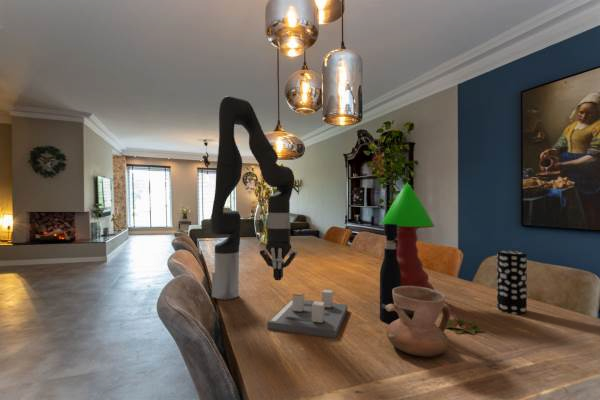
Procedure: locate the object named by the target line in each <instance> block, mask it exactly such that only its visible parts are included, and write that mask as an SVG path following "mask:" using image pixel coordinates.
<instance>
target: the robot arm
mask: <svg viewBox="0 0 600 400" xmlns="http://www.w3.org/2000/svg"><path fill="white" fill-rule="evenodd" d="M218 110H219V112H218V130H219V131H218V149H217V150H218V151H217V160H216V169H215V170H216V171H215V188H214V197H213V203H212V204H213V205H212V210H211V216H210V230H211V233H212V235H217V236H218V235H220V236H221V235H223V236H224V235H228V237H227V238H226V239H224V240H223V241H221V242H218V243H216V244H215V246H214V271H212V273H211V275H212V276H211V298H214V299H217V300H225V301H226V300H232V299H233V300H234V299H236V298H238V297H239V288H240V286H239V285H240V280H239V279H240V276H239V275H240V245H241V228H242V219H241V214H240V212H239V211H237V210H225V205H226V202H227V200H228V198H229V196H230V195H231V194H232V192H233V191H234V190H235V189H236V188H237V186H238V184H239V183H240V181H241V178H242V171H243V158H242V155H241V153H240V150H239V148H238V145H237V142H236V139H235V125H238V126H242V127H243V128H244V129H245V131H247V134H248V145H249V146H248V147H249V151H251V154H252V155H253V157H254V159H255V161H256V162H257V163H258V166H259V170H260V174H261V177H262V179H263V181H264V182H265V183H266V184H267V185H268V186H269V187H272V188H273V187H274V188H275V192H274V194H271V195H270V196H269V197H268V200H267V202H268V203H267V204H268V205H267V221H266V227H267V228H266V229H267V230H266V241H267V242H266V245H265V247H264V248H263V249H261V250H259V254H260V256H261V257H262V258H263V261H264V262H265V263H266V265H267V266H268V267H271V268H272V269H273V270H272V271H273V272H272V273H273V276H272V277H273V279H274V280H275V281H281V280H282V279H283V277H284V268H285V269H286V268H287V267H289V266H290V264H291V263H292V262H293V260H295V258H296V257H297V255H298V252H297V251H295V250H294V249H293V248H292V244H291V224H292V223H291V216H290V215H291V214H290V209H291V208H290V205H291V204H290V203H291V202H290V200H291V196H292V192H293V189H294V184H295V175H294V171H293V170H292V169H291V168H290V166H289V167H288V166H283V165H279V164H278V163H277V162H278V158H279V156H278V153H277V152H276V150H275V149H274V147H273V145H272V144H271V143H270V141H269V140H268V138H267V137H266V135H265V133H264V130H263V128H262V126H261V124H260V122H259V119H258V117H257V114H256V112H255V110H254V108H253V106H252V105H251V103H250V102H249V101H247V100H246V99H243V98H238V97H234V96H230V95H226V96H224V97H222V99H221V101H220V103H219V109H218ZM287 255H288V258H287V259H286V257H287Z"/></svg>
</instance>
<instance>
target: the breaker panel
mask: <svg viewBox="0 0 600 400" xmlns="http://www.w3.org/2000/svg"><path fill="white" fill-rule="evenodd" d="M316 302H318V301H316ZM313 303H314V300H306V299H304V309H303V310H302V312H300V311H292V298H291V299H290V300H289V301H288V302H286V303H285V305H284V306H282V308H280V309H279V310H278V311H277V312H276V313H275V314H274V315H272V317H271V318H270V319H269V320H268V321H267V323H266V324H267V329H269V330H276V331H282V332H289V333H296V334H303V335H311V336H316V337H318V336H319V337H323V338H324V337H326V338H332V339H336V338H337V337H338V334H339V331H340V329H341V327H342V325H343V322H344V319H345V318H346V315H347V312H348V304H345V303H333V305H332V307H331V308H330V307H324V320H323V322H322V323H321V322H313V321H312V304H313Z"/></svg>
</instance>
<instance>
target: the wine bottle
mask: <svg viewBox="0 0 600 400" xmlns="http://www.w3.org/2000/svg"><path fill="white" fill-rule="evenodd" d="M383 231H384V232H383V233H384V235H385V236H386V237H385V238H386V240H385V241H386V242H385V244H384V247H385V248H384V249H383V250H384V251H383V253H384V254H383V255H384V256H383V260H382V263H381V267H380V271H379V320H380V321H381V322H383V323H385V324H389V325H390V324H391V323H392V322H393V321H395V320H397V319H399V318H400V317H399V315H398V313H397V312H396V311H387V310H386V308H385V306H386V305H388V304H394V301H393V295H392V290H393V289H394V288H396V287H400V286H401V270H400V266H399V263H398V260H397V249H396V248H397V243H396V242H395V241H396V237H395V236H397V234H398V229H397V224H384V226H383Z"/></svg>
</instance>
